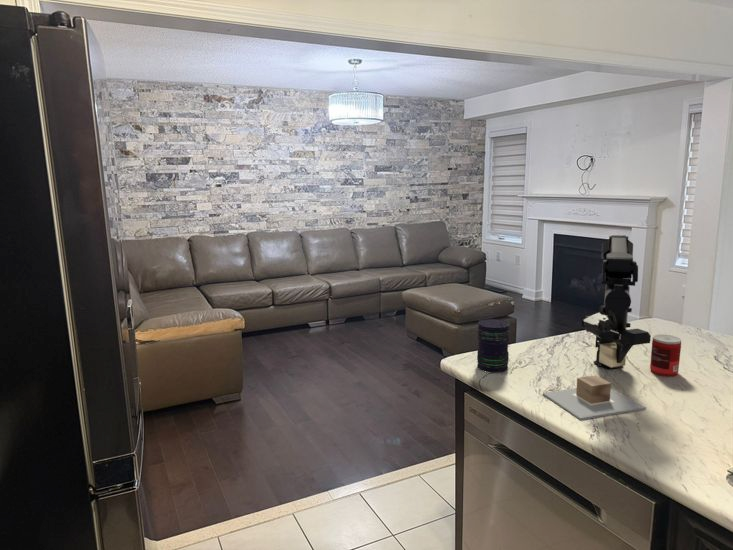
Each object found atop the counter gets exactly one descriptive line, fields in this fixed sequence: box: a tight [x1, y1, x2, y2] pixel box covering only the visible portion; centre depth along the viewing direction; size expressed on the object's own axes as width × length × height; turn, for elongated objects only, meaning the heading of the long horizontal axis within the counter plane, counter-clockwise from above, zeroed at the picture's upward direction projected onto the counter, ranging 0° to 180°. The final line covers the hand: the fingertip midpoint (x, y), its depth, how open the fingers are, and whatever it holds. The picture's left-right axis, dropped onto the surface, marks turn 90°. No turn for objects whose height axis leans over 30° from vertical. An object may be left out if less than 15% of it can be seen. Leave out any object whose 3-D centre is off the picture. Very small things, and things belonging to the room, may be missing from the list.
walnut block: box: [576, 374, 612, 404], centre depth 138 cm, size 6×6×5 cm
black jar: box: [476, 318, 510, 374], centre depth 162 cm, size 10×10×15 cm
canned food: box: [649, 333, 682, 377], centre depth 156 cm, size 8×8×11 cm
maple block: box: [599, 343, 627, 367], centre depth 136 cm, size 4×4×5 cm
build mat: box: [542, 387, 647, 421], centre depth 138 cm, size 20×16×1 cm
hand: (612, 359), depth 136 cm, fingers closed on maple block, 4 cm apart
